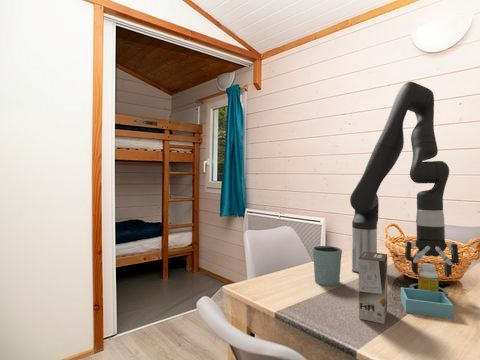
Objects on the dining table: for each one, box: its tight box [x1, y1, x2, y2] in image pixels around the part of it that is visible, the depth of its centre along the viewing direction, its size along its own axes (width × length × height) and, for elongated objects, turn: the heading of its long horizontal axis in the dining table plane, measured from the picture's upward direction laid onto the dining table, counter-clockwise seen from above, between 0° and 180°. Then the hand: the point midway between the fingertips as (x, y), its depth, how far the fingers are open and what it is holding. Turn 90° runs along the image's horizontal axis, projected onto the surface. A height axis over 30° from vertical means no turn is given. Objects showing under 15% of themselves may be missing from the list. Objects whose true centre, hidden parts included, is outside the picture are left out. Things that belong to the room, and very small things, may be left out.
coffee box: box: [358, 252, 388, 325], centre depth 81 cm, size 9×6×16 cm
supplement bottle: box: [417, 262, 439, 292], centre depth 94 cm, size 5×5×10 cm
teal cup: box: [312, 245, 343, 287], centre depth 107 cm, size 10×10×12 cm
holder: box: [408, 283, 449, 299], centre depth 94 cm, size 10×10×2 cm
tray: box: [400, 287, 454, 319], centre depth 85 cm, size 11×10×4 cm
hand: (431, 275), depth 94 cm, fingers open, 8 cm apart
